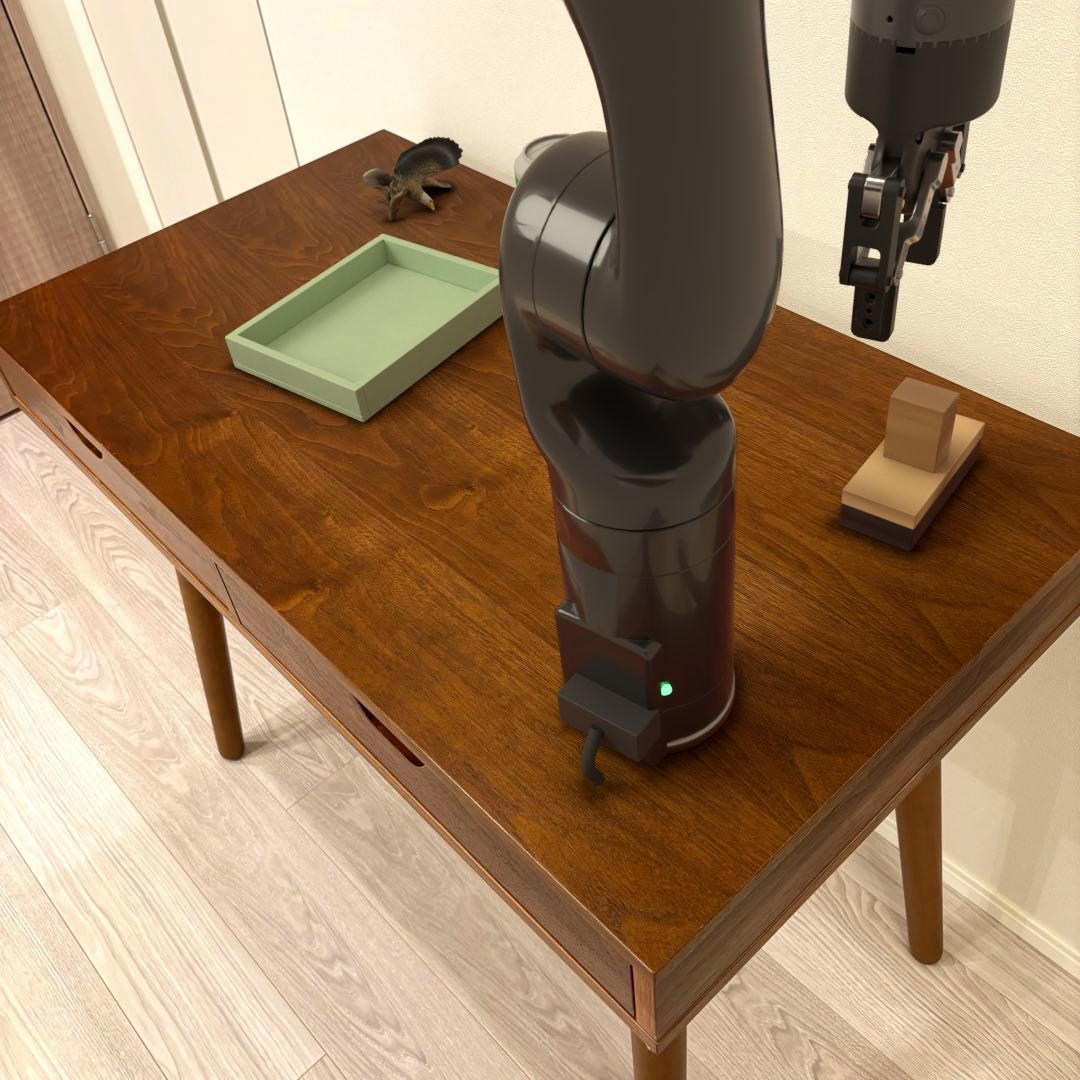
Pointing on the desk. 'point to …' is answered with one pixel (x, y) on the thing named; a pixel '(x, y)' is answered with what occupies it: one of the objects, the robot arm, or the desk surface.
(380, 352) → the tray
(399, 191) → the brown animal figurine
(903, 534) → the brush
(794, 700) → the desk surface
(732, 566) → the robot arm
